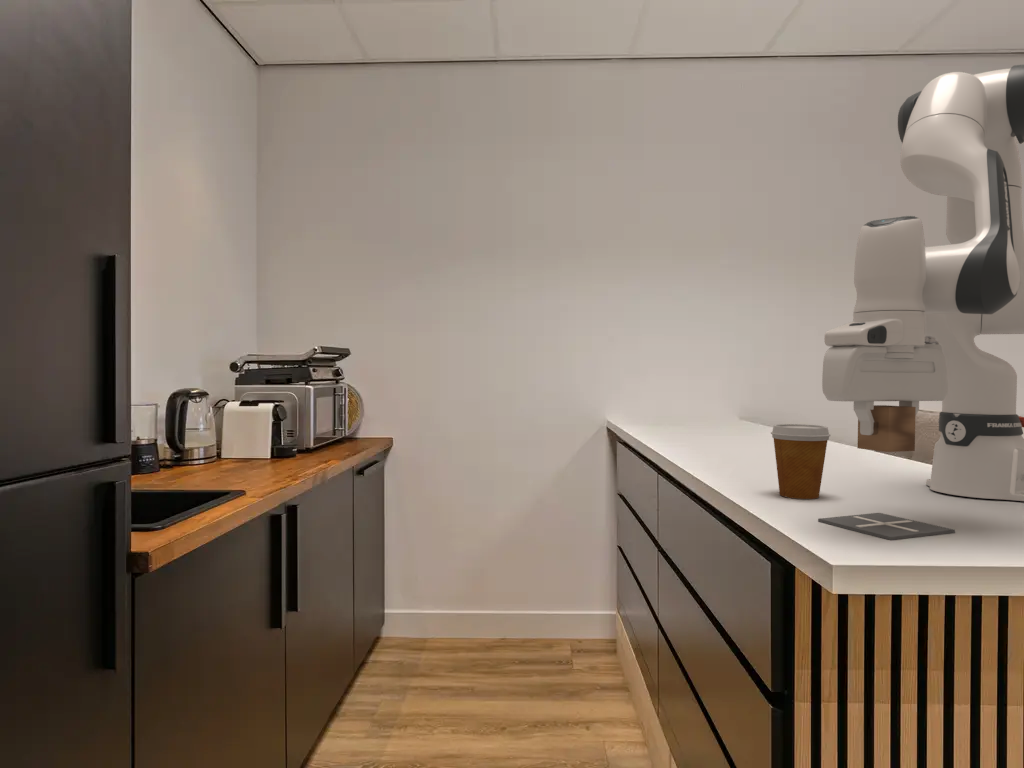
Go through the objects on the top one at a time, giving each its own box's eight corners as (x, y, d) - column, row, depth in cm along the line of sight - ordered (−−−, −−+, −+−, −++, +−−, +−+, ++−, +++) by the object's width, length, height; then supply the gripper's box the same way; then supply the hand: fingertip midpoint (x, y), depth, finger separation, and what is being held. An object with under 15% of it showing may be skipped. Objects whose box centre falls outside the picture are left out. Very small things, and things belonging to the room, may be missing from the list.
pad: (879, 515, 109) (879, 512, 109) (955, 532, 98) (955, 529, 98) (818, 521, 105) (818, 518, 105) (890, 540, 94) (890, 536, 94)
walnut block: (883, 447, 104) (884, 405, 104) (914, 450, 100) (915, 406, 100) (857, 448, 102) (858, 405, 102) (888, 452, 98) (889, 407, 98)
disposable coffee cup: (818, 491, 130) (820, 424, 129) (837, 501, 120) (838, 429, 120) (763, 490, 131) (764, 423, 130) (777, 500, 121) (779, 428, 121)
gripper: (920, 337, 108) (918, 431, 108) (815, 332, 100) (813, 434, 100) (961, 335, 102) (959, 434, 102) (852, 330, 94) (850, 438, 94)
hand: (885, 434), depth 101 cm, fingers closed on walnut block, 5 cm apart
